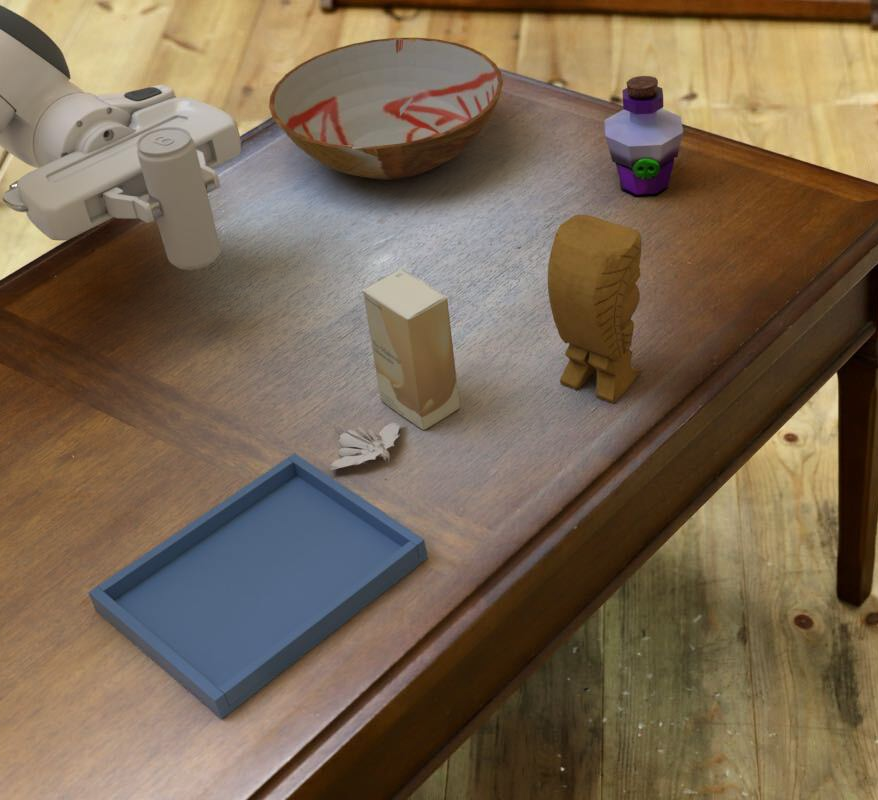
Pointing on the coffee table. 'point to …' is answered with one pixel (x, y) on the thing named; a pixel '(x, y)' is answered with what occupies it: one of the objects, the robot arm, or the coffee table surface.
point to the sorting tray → (257, 582)
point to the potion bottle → (643, 139)
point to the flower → (365, 445)
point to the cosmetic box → (412, 348)
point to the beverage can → (179, 196)
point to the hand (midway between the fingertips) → (184, 197)
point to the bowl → (387, 105)
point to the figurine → (595, 301)
